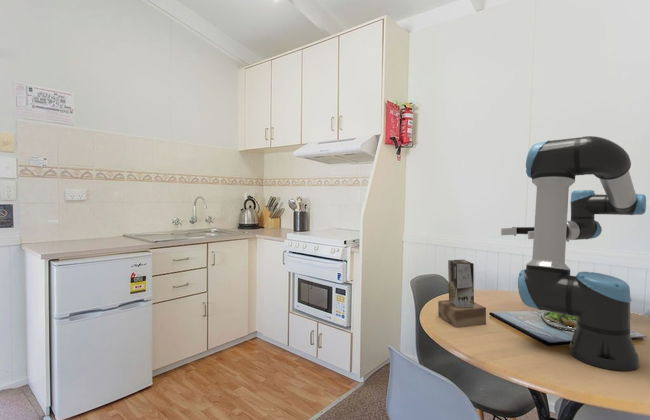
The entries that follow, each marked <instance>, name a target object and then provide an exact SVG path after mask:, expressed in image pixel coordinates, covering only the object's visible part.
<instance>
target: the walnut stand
mask: <svg viewBox="0 0 650 420" xmlns="http://www.w3.org/2000/svg"><path fill="white" fill-rule="evenodd" d="M437 305H438V307H437V310H438V317H439V318H440V319H442V320H444V321H445V322H447V323H449V324H450V325H452V326H453V327H455V328H462V327H472V326H479V325H480V326H482V325H486V324H487V307H485V306H484V305H481V304H479V303H477V302H475V301H474V307H473V308H457V307H456V306H455V305H454V304H452V303H451V302H450V301H449V299H446V300H438V301H437Z"/></svg>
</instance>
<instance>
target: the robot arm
mask: <svg viewBox="0 0 650 420" xmlns="http://www.w3.org/2000/svg"><path fill="white" fill-rule="evenodd" d="M631 166H632V160H631V158H630V155H629V154H628V152H627V151H626V150H625V149H624V148H623V147H622V146H620V145H619V144H617V143H616V142H613V141H612V140H610V139H607V138H604V137H600V136H596V135H595V136H593V135H591V136H589V135H587V136H582V137H572V138H570V137H569V138H565V139H554V140H546V141H541V142H536V143H534V144H533V145H532V146H531V147H530V149H529V151H528V152H527V155H526V161H525V170H526V171H525V173H526V175H527V177H528V178H530V179H531V183H532V184H533V185H534V186H535V187H536V193H535V194H536V195H535V199H536V200H535V211H534V212H535V214H534V226H528V227H527V226H526V227H525V226H523V227H522V226H512V227H504V228H502V227H501V228H500V235H501V236H515V237H516V235H527V240H533V244H532V245H533V246H532V256H531V257H532V258H531V260H530V261H529V262H527V263H526V265H525V266H526V267H525V268H524V269H522V270H520V271H519V273H518V277H517V288H518V293H519V297H520V299H521V302H522V303H523V305H525V306H527V307H528V308H533V309H537V310H539V311H544V312H547V311H550V312H556V313H561V314H566V315H571V316H576V317H577V328H576V330H575V331H574V332H573V336H572V338H571V341H570V343H569V352H570V354H571V356H573V357H574V358H575V359H577V360H579V361H581V362H583V363H586V364H588V365H591V366H594V367H596V368H597V367H598V368H600V369H601V368H602V369H607V370H612V371H634V370H636V369H638V368H639V366H640V357H639V355H638V352H637V350H636V348H635V345H634V342H633V339H632V336H631V302H632V298H631V288H630V285H629V284H628V283H627V282H626V281H624V280H623V279H621V278H618V277H615V276H613V275H610V274H609V275H608V274H604V273H600V272H599V273H598V272H594V271H593V272H592V271H591V272H590V271H578V273H577V274H576V275H571V268H570V267H569V266H568V265H567V264H566V263H565V262H566V247H567V245H566V244H567V243H568V242H570V241H578V240H591V239H596V238H598V237H599V236H600V235H601V234H602V231H603V229H602V226H601V223H599V221H598V220H595V215H611V216H612V215H617V216H619V215H620V216H638V215H644V214H645V213H646V211H647V197H646V195H645V194H643V193H636V190H635V188H634V184H633V181H632V177H631V174H630V169H631ZM586 175H588V176H589V175H593V176H594V177H596V178H598V179H599V181H600V183H601V186H602V188H603V190H604V192H605V194H596V192H595V190H593V189H589V190H588V189H585V190H581V189H580V190H572V191H571V193H570V194H571V195H570V202H569V191H570V190H569V189H570V187H571V186H572V185H573V184H575V183H576V176H586ZM569 203H570V220H568V212H569V211H568V209H569V208H568V206H569Z"/></svg>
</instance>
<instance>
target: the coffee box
mask: <svg viewBox="0 0 650 420" xmlns="http://www.w3.org/2000/svg"><path fill="white" fill-rule="evenodd" d="M447 265H448V266H447V270H448V271H447V273H448V300H449V301H450V302H451V303H452V304H454V305H455V306H456V307H457V308H473V307H474V302H475V294H474V293H475V289H474V286H475V285H474V284H475V283H474V281H475V280H474V279H475V275H474V274H475V273H474V270H475V269H474V266H475V263H473V262H470V261H468V260H465V259H448V260H447Z"/></svg>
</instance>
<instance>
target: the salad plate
mask: <svg viewBox="0 0 650 420" xmlns="http://www.w3.org/2000/svg"><path fill="white" fill-rule="evenodd" d="M540 318H542V320H543V321H544V323H546V324H548V325H549V326H550V325H551V327H552V326H554V327H553V328H555V327H557V328H556V329H558V328H561V329H567V330H574V331H573V332H575V330H576V328H577V317H576V316H571V315H566V314H561V313H556V312H551V311H543V312H541V313H540ZM547 320H550V321H549V322H548V321H547ZM551 321H554V322H551ZM555 322H559V323H558V324H560V323H563V324H565V325H566V326H569V327H572V328H568V327H566V326H565V325H563V324H562V325H563V326H561V325H558V324H556V323H555ZM561 329H560V330H561ZM567 330H566V331H567Z"/></svg>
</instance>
